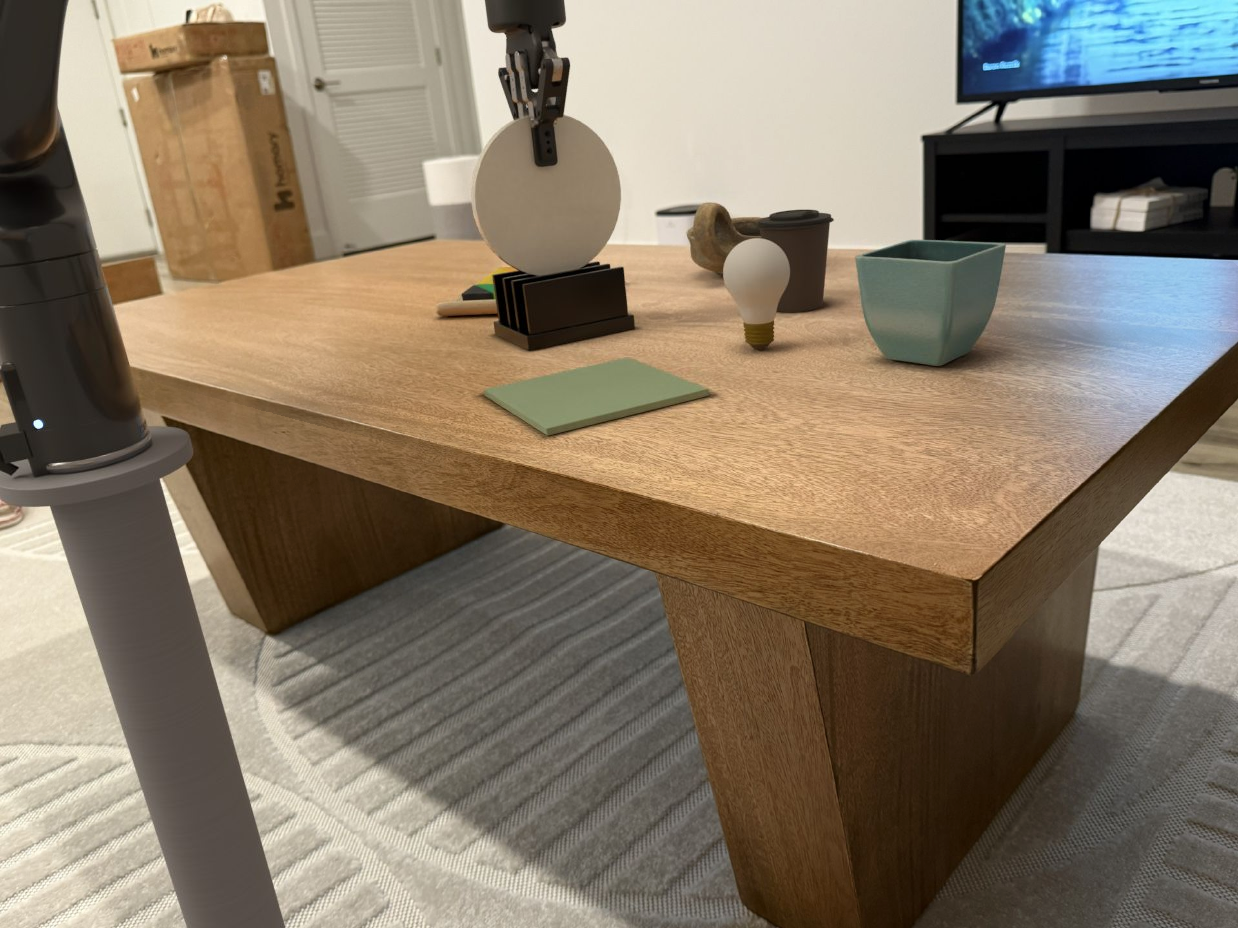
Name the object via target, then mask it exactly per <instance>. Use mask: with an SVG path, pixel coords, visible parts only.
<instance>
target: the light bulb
mask: <svg viewBox="0 0 1238 928" xmlns="http://www.w3.org/2000/svg"><path fill="white" fill-rule="evenodd" d="M722 276H723V283H724V286H725V289H726V291H727V292H728V293H729V295H730V296H731V298H732V299H733V301H734V302H735V304H736V306H737V309H738V313H739V316H740V319H741V320H742V322H743V323H742V325H743V331H744V339H745V340H744V341H745V342H744V343H746V344H747V345H749V346H750V347H752V348H753V349H754V350H756V351H762V350H766V349H767V348H768V347H769V346H770V345H771V343H773V342H774V341H775V335H774V334H775V331H774V330H775V318H776V316H777V311H776V310H777V306H778V302H779V300H780V298H781V296H782V294H783V292H784V291H785V289H786V287H787V284H788V282H789V277H790V266H789V262H788V259H787V257H786V255H785V253H784V252H783V250H782V249H781V248H780V247H779V246H778V245H776V244H775V243H773V242H771V241H769V240H766V239H761V238H754V239H749V240H745V241H743V242H741V243H740V244H738V245H737V246H735V247H734V248H733V249H732V250H731V252H730V253H729V255H728V256H727V258H726V260H725V263H724V268H723V274H722Z"/></svg>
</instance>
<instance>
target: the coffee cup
mask: <svg viewBox="0 0 1238 928" xmlns="http://www.w3.org/2000/svg"><path fill="white" fill-rule="evenodd" d="M764 217H765V218H764ZM764 217H761V218H762V219H759V220H758V223H757V224H756V225H755V226H756V227H757V228H760V233H761V239H766V240H769V241H771V242H773V243H775V244H776V245H778V246H779V247H780V248H781V249H782V250H783V252H784V253H785V255H786V257H787V259H788V262H789V266H790V277H789V282H788V284H787V287H786V289H785V291H784V292H783V294H782V296H781V298H780V300H779V302H778V306H777V310H776V312H781V313H799V312H807V311H808V312H809V311H814V310H817V309H820V308H822V307H823V305H824V296H825V295H824V293H825V284H826V272H827V261H828V250H829V237H830V227H831V226H830V225H831V223H833V222H834V221H835V219H834V218H833V217H832V214H830V213H827V212H820V211H819V210H817V209H791V210H790V209H789V210H781V211H777V212H773V213H771V214H769V216H764Z"/></svg>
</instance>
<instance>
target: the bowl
mask: <svg viewBox="0 0 1238 928" xmlns="http://www.w3.org/2000/svg"><path fill="white" fill-rule="evenodd" d="M765 217H766V216H764V217H760V216H743V217H731V214H730V212H729V211H728V208H726V207H725V206H724V205H722V204H720V203H718V202H711V201H710V202H703V203H701V204H700V205H699V206H698V208H697V209H696V212H695V214H694V217H693V226H691V227H690V228H688V229H687V231H686V232H685V233H686V238H687V240H688V242H689V245H690V250H689V251H690V258H691V260H692V261H693V262H694V264H695V265H697V266H698V267H700V268H702V269H705V270H707V271H710V272H713V273H717V274H722V275H723V268H724V263H725V260H726V258H727V256H728V255H729V253H730V252H731V250H732V249H733V248H734V247H735V246H737V245H738V244H740V243H741V242H743V241H745V240H749V239H754V238H761V233H760V228H757V227H756V226H755V225H756V224H757V223H758V220H759V219H762V218H765Z"/></svg>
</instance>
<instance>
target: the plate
mask: <svg viewBox="0 0 1238 928" xmlns="http://www.w3.org/2000/svg"><path fill="white" fill-rule="evenodd" d="M553 126H554V130H555V140H556V149H557V158H558V162H557V164H556V165H554V166H546V167H538V166H536V164H535V160H534V151H533V143H532V134H531V128H535V127H532V126H531V124H530V118H529V115H526V116H523V117H519V118H517V119H515V120H513V119H512V120H511V121H510V122H508V123H506V124H505V125H503V126H502V127H500V129H498V130H497V131H496V132H495V133H494V134H493V135H492V136H491V137H490V138H489V140H488V141H487V142H486V144H485V145H484V147H483V149H482V150H481V152H480V154H479V157H478V158H477V161H476V163H475V167H474V169H473V173H472V179H471V189H470V190H471V191H470V199H471V209H472V214H473V218H474V221H475V224H476V228H477V229H478V231H479V234H480V236H481V238H482V239H483V241H484V243H485V244H486V245H487V247H488V248H489V249H490V251H491V252H492V253H493V254H494V255H495V256H496V257H497V258H498V259H500V260H501V261H502V262H503V263H505V265H507V266H508V267H513V268H515V269H517V270H519V271H522V272H525V273H528V274H532V275H536V276H541V275H546V274H552V273H558V272H563V271H569V270H574V269H580V268H581V267H583V266H585V265H586V264H588V263H591V262H593V260H594V259H595V258H596V257H597V256H598V255H599V254H600V253H601V252H602V250H603V249H604V248H605V247H606V245H607V244H608V242H609V240H610V239H611V237H612V235H613V233H614V231H615V228H616V226H617V222H618V220H619V215H620V212H621V211H620V210H621V203H622V201H621V200H622V189H621V180H620V175H619V171H618V168H617V164H616V162H615V158H614V157H613V155H612V153H611V151H610V149H609V147H608V146H607V145H606V143H605V142H604V141H603V139H602V138H601V137H600V136H599V135H598V134H597V132H595V131H594V130H593V129H592V128H591V127H589V126H588V125H586V124H585V123H583V122H582V121H581V120H579V119H577V118H574V117H572V116H570V115H567V114H564V115H563V117H562V118H557V124H556V125H553Z"/></svg>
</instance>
